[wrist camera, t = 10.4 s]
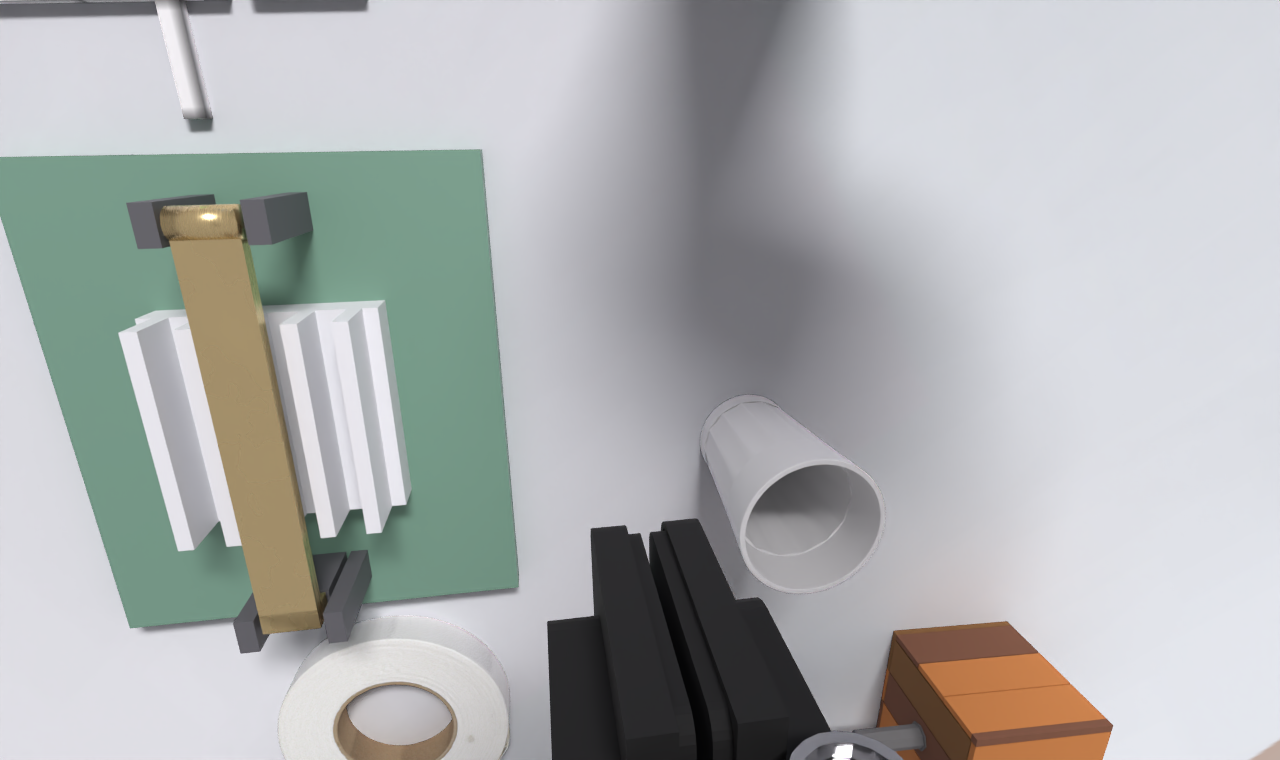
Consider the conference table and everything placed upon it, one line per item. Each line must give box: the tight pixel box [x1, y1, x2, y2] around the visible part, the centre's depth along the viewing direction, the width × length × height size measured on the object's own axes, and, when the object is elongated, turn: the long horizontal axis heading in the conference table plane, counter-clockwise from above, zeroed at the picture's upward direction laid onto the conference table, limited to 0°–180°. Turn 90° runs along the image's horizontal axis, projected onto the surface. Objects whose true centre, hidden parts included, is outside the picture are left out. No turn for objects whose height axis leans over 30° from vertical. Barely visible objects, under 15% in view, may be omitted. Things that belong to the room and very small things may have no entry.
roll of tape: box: [278, 615, 510, 760], centre depth 48 cm, size 16×15×3 cm
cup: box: [700, 395, 886, 594], centre depth 40 cm, size 8×8×12 cm
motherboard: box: [0, 150, 519, 653], centre depth 37 cm, size 28×24×8 cm
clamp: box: [852, 621, 1113, 760], centre depth 49 cm, size 11×20×14 cm, turn 88°
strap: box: [160, 204, 328, 634], centre depth 34 cm, size 23×3×2 cm, turn 1°
